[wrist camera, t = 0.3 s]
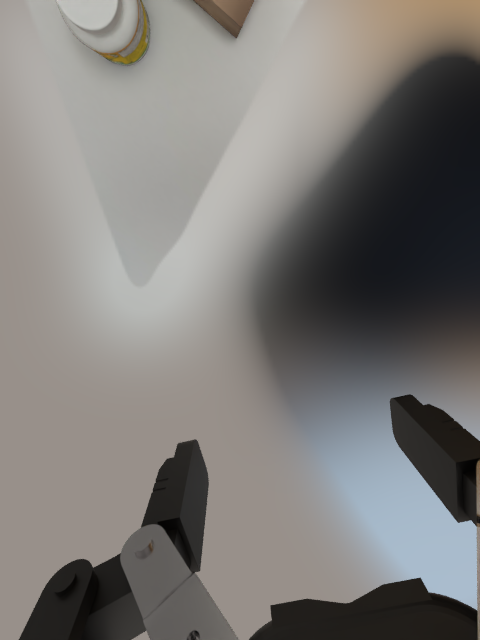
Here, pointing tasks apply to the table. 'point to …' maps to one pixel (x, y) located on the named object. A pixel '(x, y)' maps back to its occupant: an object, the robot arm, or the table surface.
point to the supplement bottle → (109, 27)
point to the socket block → (228, 12)
